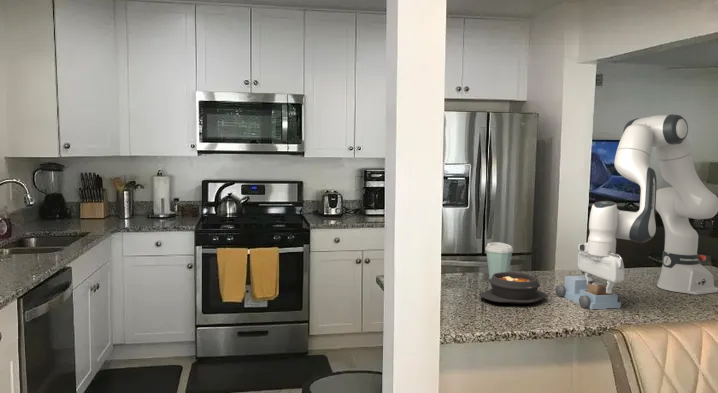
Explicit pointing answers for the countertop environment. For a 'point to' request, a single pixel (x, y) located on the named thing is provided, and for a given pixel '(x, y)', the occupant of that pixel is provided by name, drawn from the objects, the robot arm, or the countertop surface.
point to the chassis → (586, 294)
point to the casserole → (513, 288)
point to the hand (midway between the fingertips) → (598, 289)
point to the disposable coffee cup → (498, 257)
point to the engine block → (597, 288)
